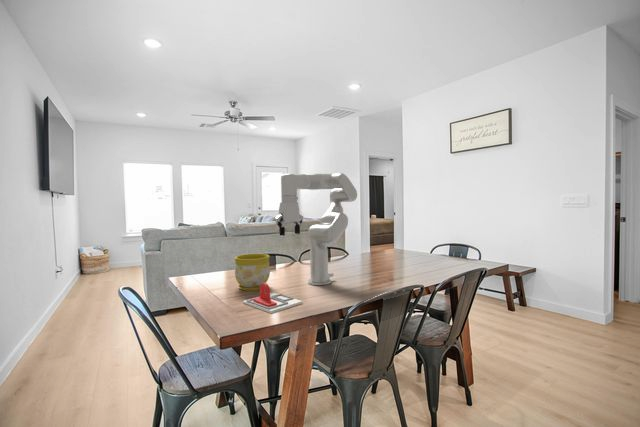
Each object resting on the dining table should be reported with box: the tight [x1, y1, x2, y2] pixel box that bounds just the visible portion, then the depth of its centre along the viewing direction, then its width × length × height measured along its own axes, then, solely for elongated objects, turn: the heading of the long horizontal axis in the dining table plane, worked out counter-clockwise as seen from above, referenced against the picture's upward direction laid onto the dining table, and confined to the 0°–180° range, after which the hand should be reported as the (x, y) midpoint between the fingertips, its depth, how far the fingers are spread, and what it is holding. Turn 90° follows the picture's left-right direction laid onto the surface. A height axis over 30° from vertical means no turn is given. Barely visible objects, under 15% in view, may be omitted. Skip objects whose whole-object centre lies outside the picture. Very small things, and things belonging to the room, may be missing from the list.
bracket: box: [253, 282, 277, 307], centre depth 143 cm, size 12×4×8 cm, turn 40°
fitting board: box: [242, 292, 303, 314], centre depth 146 cm, size 17×20×2 cm
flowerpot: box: [233, 253, 271, 292], centre depth 173 cm, size 18×18×16 cm
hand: (289, 234), depth 163 cm, fingers open, 9 cm apart
